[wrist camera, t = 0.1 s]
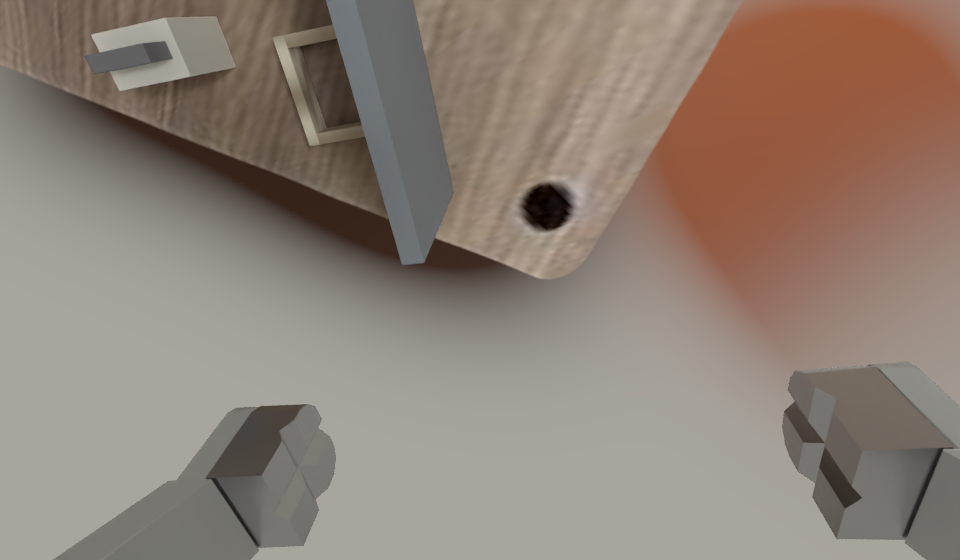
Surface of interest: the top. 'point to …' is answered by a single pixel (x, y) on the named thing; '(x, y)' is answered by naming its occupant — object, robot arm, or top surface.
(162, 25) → the cream block with tab
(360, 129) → the frame
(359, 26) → the wall board
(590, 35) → the top surface
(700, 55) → the top surface
